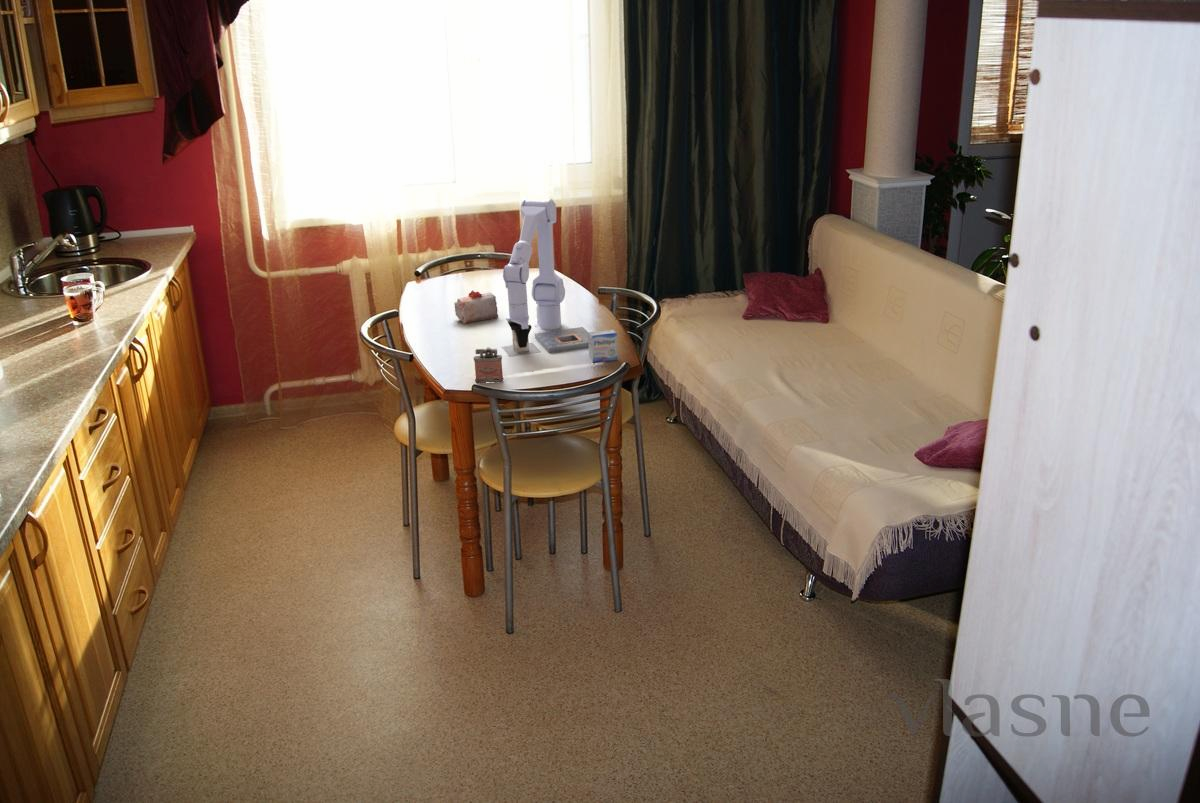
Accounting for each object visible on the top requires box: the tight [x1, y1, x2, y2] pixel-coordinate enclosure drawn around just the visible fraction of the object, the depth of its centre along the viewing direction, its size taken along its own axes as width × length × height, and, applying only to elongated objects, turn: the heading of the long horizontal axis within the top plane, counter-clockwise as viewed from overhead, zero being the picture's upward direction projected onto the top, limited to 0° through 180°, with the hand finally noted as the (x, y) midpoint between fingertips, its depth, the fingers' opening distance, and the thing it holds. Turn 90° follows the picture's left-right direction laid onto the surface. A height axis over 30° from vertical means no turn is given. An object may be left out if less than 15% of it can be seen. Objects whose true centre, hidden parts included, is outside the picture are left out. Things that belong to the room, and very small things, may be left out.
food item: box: [453, 290, 499, 325], centre depth 346 cm, size 14×8×10 cm, turn 118°
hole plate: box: [534, 326, 589, 354], centre depth 318 cm, size 16×16×3 cm
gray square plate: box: [501, 342, 542, 357], centre depth 313 cm, size 10×10×1 cm
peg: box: [511, 330, 530, 352], centre depth 312 cm, size 4×4×6 cm
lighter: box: [473, 347, 505, 385], centre depth 289 cm, size 8×3×10 cm, turn 92°
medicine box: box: [588, 329, 618, 364], centre depth 303 cm, size 8×4×9 cm, turn 105°
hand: (520, 345), depth 313 cm, fingers closed on peg, 4 cm apart
